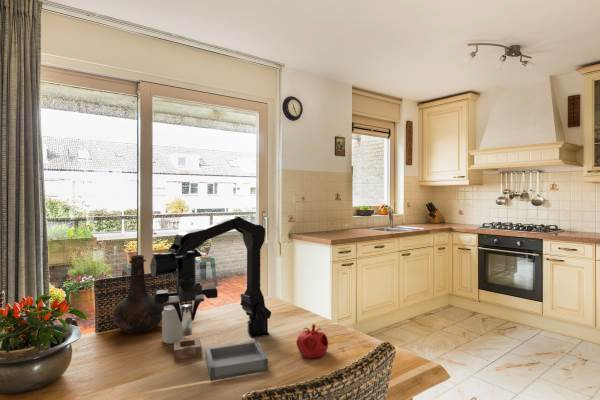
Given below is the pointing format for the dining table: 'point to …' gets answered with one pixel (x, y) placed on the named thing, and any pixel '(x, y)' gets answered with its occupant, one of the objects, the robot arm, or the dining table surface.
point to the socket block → (187, 348)
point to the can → (171, 325)
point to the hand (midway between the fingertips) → (186, 321)
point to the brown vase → (138, 303)
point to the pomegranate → (312, 343)
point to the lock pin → (186, 319)
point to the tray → (235, 360)
